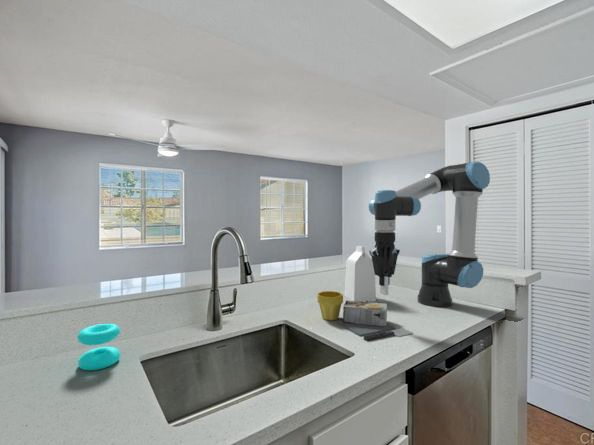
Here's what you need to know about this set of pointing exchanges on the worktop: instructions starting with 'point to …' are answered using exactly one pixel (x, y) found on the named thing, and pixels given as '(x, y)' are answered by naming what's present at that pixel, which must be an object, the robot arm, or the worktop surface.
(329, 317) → the plant pot
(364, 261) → the milk
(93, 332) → the donuts
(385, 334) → the turner
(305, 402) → the worktop surface
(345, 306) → the coffee box
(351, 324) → the mat
